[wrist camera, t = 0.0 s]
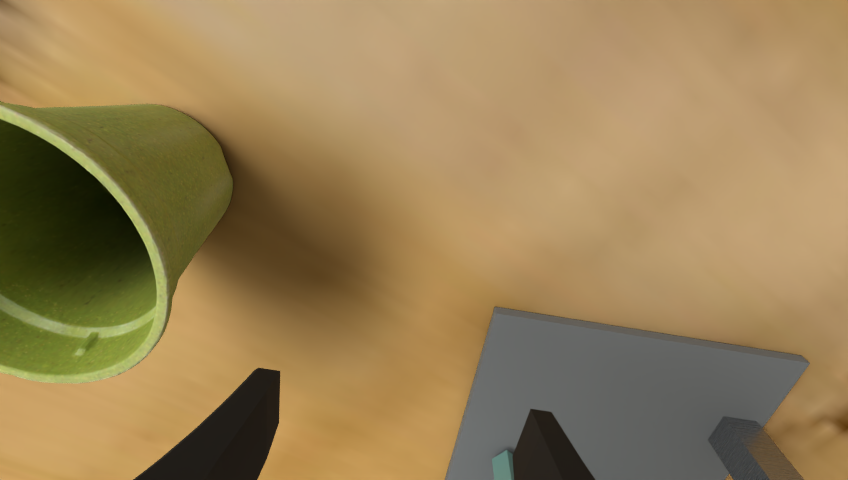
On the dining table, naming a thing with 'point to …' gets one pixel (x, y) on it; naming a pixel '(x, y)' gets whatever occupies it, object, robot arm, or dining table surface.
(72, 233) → the plant pot
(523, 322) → the slate mat
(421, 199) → the dining table surface
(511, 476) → the gate
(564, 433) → the robot arm
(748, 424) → the dark grey rectangular block
